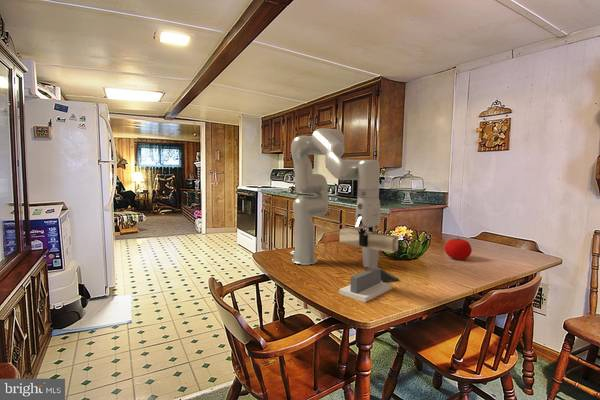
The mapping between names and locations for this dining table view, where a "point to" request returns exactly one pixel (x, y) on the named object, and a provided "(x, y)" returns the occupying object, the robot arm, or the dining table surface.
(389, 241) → the beam
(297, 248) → the robot arm
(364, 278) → the ridge stand
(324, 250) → the dining table surface
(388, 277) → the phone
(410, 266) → the dining table surface
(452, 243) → the tomato
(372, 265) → the coffee cup
